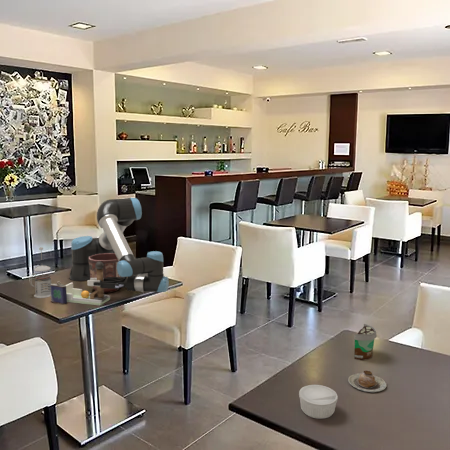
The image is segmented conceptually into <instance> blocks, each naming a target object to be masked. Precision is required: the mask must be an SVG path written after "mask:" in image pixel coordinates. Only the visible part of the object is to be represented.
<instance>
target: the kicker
mask: <svg viewBox="0 0 450 450" xmlns="http://www.w3.org/2000/svg"><path fill="white" fill-rule="evenodd" d="M95 267H96V271H97V280H102V281H103V269H102V268H103V267H104V264H103V263H102V262H100V261H99V262H97V263H96V264H95ZM90 293H91V292H90ZM107 295H108V294H105V293H104V288H100V286H97V291H95V290H94V291H93V292H92V293H91V294H90V299H95V300H102V301H103V300H105V299H107V298H108V296H107Z"/></svg>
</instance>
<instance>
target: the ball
mask: <svg viewBox="0 0 450 450" xmlns="http://www.w3.org/2000/svg"><path fill="white" fill-rule="evenodd" d="M89 293H90V292H89V291H88V290H82V293H81V297H82V298H85V299H86V298H88V297H89Z"/></svg>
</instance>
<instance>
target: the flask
mask: <svg viewBox="0 0 450 450" xmlns="http://www.w3.org/2000/svg"><path fill="white" fill-rule="evenodd" d="M65 285H66V284H65ZM65 285H64V284H63V283H61V281H60V280H58V281H56V283H51V285H50V287H51V296H50V302H51V303H53V304H54V303H55V304H60V305H67V304H68V302H67V295H66V286H65Z"/></svg>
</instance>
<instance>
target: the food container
mask: <svg viewBox="0 0 450 450" xmlns="http://www.w3.org/2000/svg"><path fill="white" fill-rule="evenodd" d="M377 337H378V335H377V331H376V328H375V327H374V326H372V325H370V324H365V323H364V324H363V327H362V328H361V329H359V331H358V333H354V338H353V339H354V353H353V354H354V356H353V357H354V360H357V361H359V360H360V361H366V360H370V359H372V357H373V353H374V344H375V339H376V338H377Z"/></svg>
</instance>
